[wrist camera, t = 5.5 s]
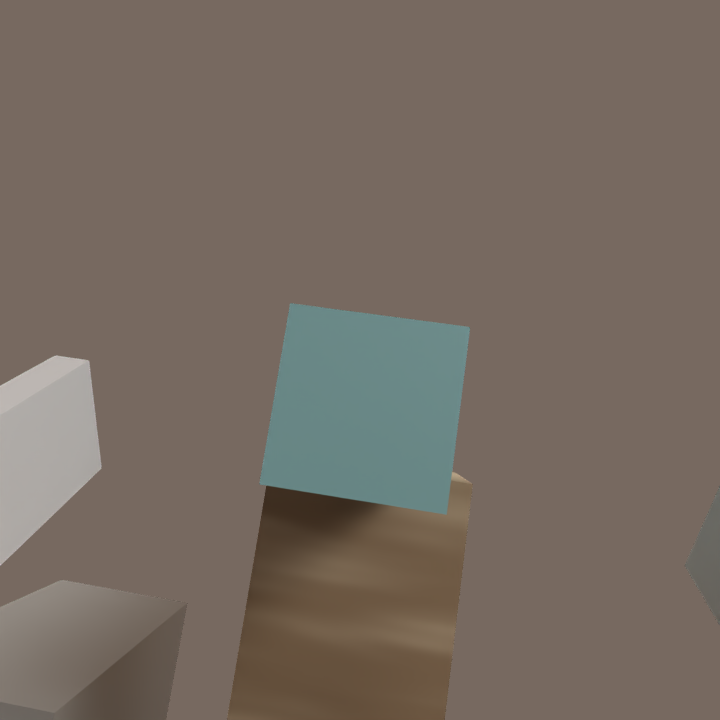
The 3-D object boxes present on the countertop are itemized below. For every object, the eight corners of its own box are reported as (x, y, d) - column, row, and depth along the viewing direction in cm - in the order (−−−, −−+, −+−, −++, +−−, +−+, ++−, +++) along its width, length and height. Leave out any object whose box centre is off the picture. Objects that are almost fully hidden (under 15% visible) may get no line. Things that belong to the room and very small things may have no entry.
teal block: (447, 514, 10) (469, 327, 10) (259, 484, 10) (290, 303, 10) (408, 455, 33) (415, 401, 34) (353, 447, 34) (362, 393, 34)
